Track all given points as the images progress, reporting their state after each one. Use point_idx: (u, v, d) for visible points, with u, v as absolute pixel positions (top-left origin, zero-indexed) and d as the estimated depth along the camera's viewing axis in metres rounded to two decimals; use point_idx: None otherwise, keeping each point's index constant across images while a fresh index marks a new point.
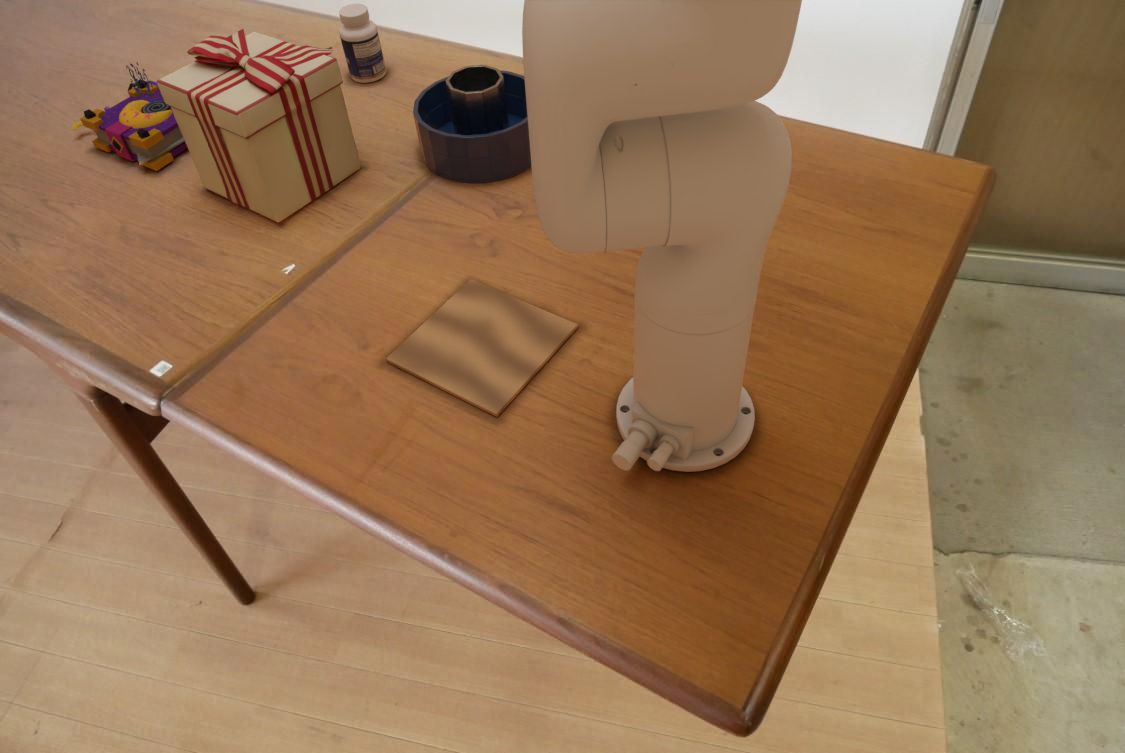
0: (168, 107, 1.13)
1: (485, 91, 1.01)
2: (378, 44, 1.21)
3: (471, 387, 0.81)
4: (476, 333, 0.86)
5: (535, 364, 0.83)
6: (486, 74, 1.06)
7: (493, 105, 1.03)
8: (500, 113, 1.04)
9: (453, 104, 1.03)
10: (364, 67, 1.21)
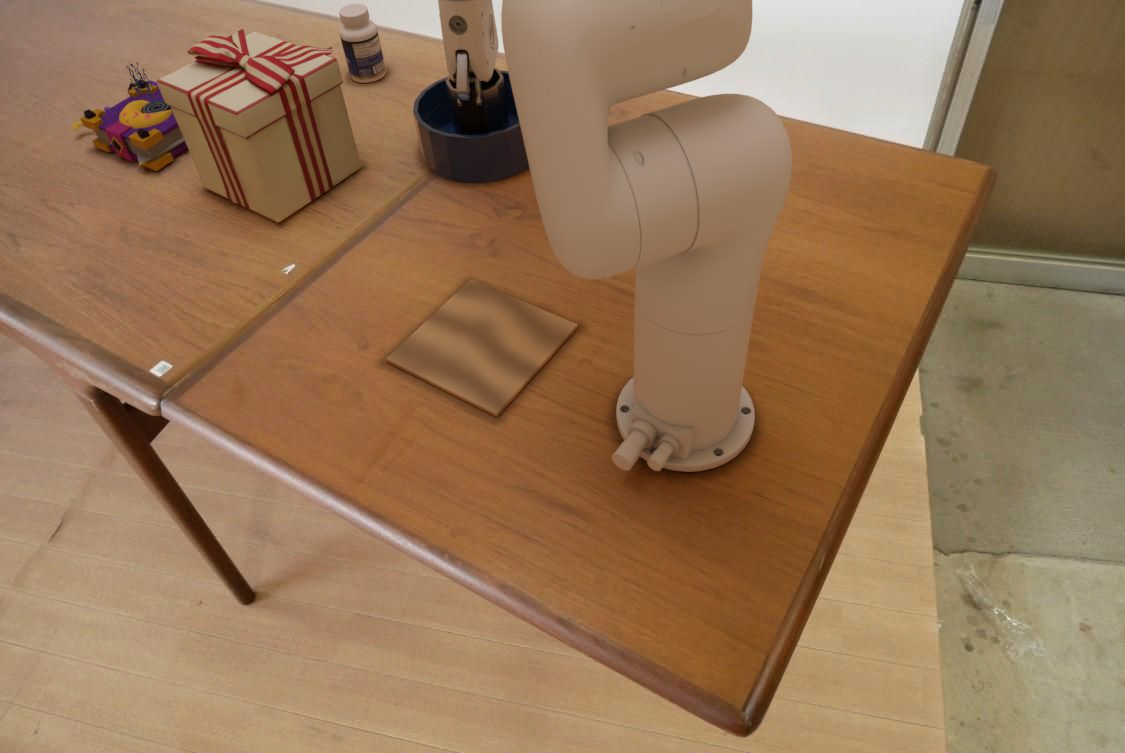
0: (168, 107, 1.13)
1: (485, 91, 1.01)
2: (378, 44, 1.21)
3: (471, 387, 0.81)
4: (476, 333, 0.86)
5: (535, 364, 0.83)
6: None
7: (493, 105, 1.03)
8: (500, 113, 1.04)
9: (453, 104, 1.03)
10: (364, 67, 1.21)
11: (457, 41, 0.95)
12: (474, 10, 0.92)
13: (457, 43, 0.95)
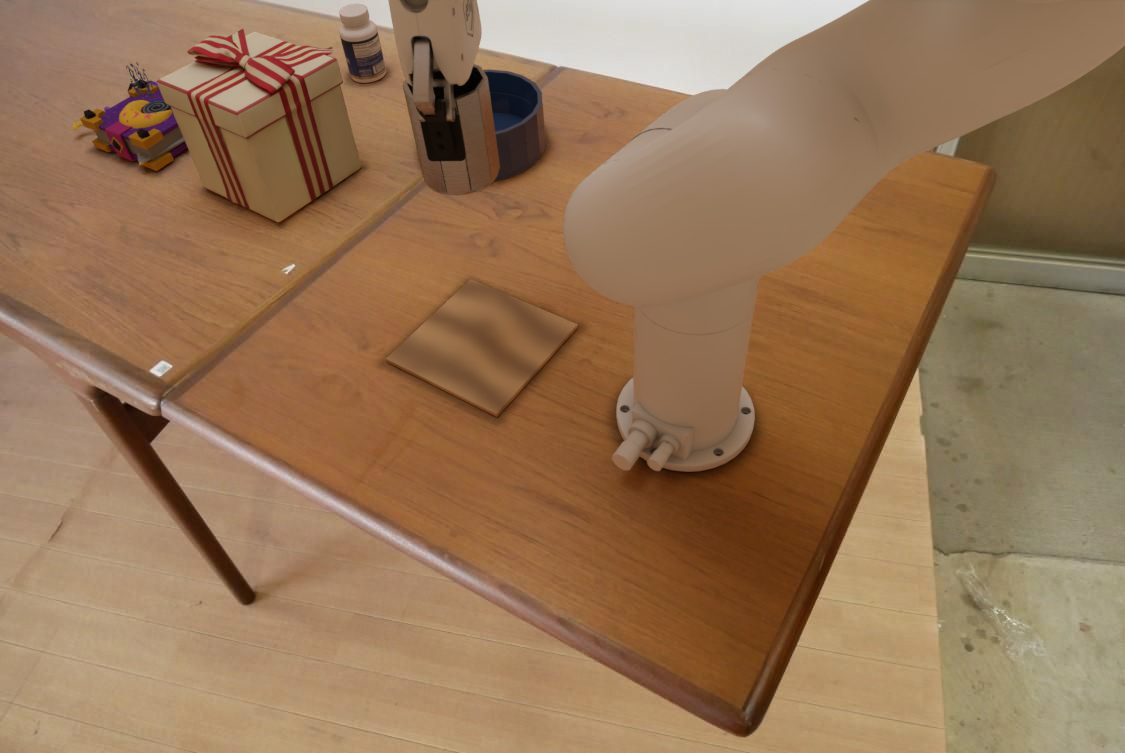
0: (168, 107, 1.13)
1: (460, 99, 0.68)
2: (378, 44, 1.21)
3: (471, 387, 0.81)
4: (476, 333, 0.86)
5: (535, 364, 0.83)
6: None
7: (472, 120, 0.69)
8: (483, 131, 0.71)
9: (413, 118, 0.70)
10: (364, 67, 1.21)
11: (413, 23, 0.61)
12: None
13: (413, 26, 0.61)
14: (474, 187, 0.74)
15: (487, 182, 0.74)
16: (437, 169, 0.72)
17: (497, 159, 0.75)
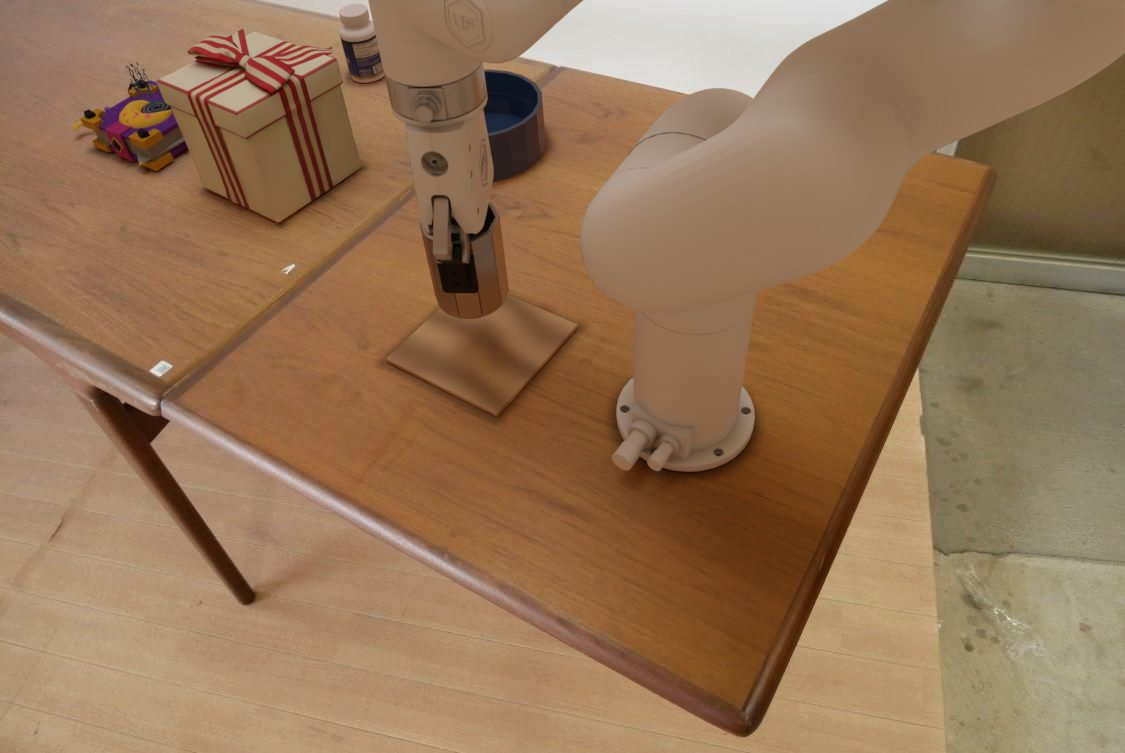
0: (168, 107, 1.13)
1: (474, 241, 0.72)
2: None
3: (471, 387, 0.81)
4: (476, 333, 0.86)
5: (535, 364, 0.83)
6: None
7: (485, 256, 0.74)
8: (495, 264, 0.75)
9: (429, 254, 0.74)
10: (364, 67, 1.21)
11: (434, 184, 0.66)
12: (458, 144, 0.63)
13: (434, 187, 0.66)
14: (485, 312, 0.78)
15: (497, 306, 0.79)
16: (451, 297, 0.77)
17: (506, 284, 0.79)
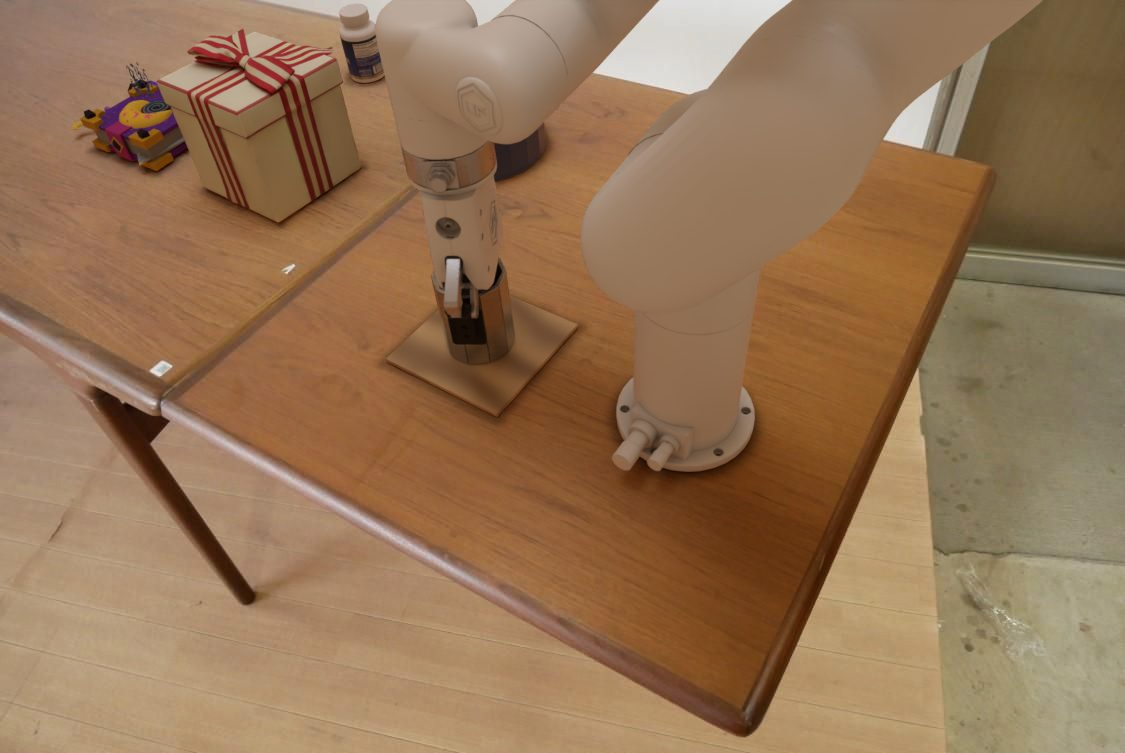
0: (168, 107, 1.13)
1: (482, 295, 0.77)
2: None
3: (471, 387, 0.81)
4: None
5: (535, 364, 0.83)
6: None
7: (493, 308, 0.79)
8: (502, 315, 0.80)
9: (441, 306, 0.79)
10: (364, 67, 1.21)
11: (447, 246, 0.70)
12: (470, 210, 0.68)
13: (447, 248, 0.70)
14: (493, 358, 0.83)
15: (504, 352, 0.83)
16: (460, 345, 0.81)
17: (513, 331, 0.84)
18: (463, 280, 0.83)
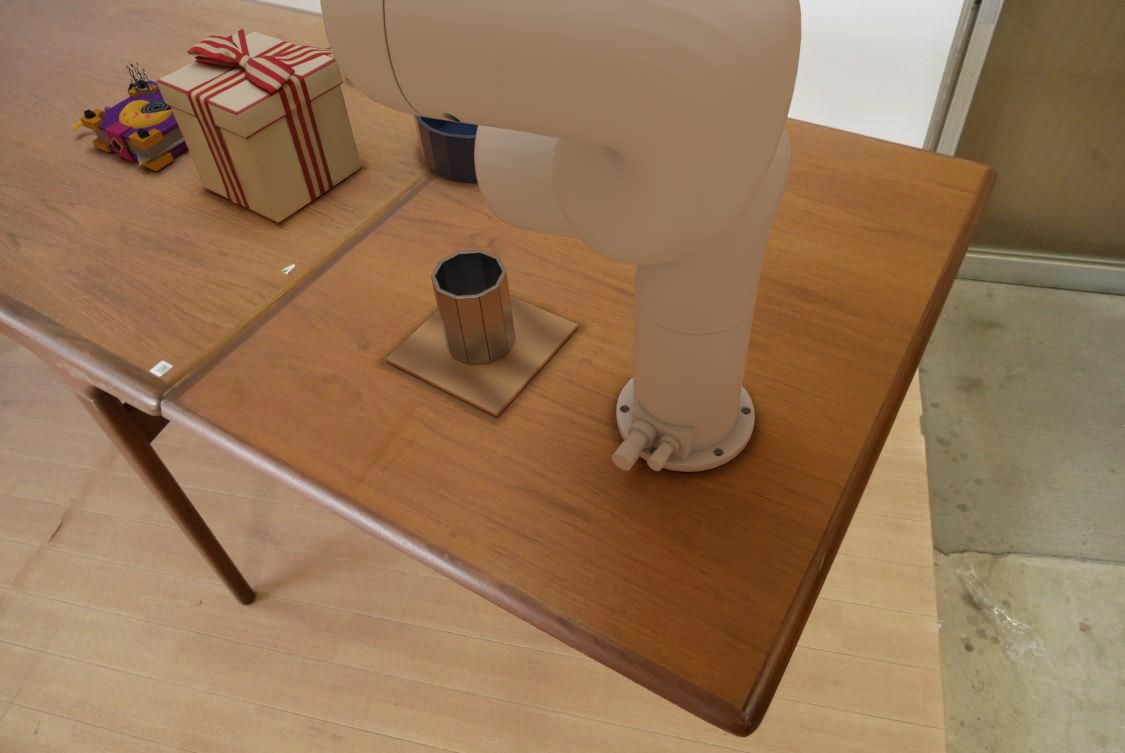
0: (168, 107, 1.13)
1: (482, 295, 0.77)
2: None
3: (471, 387, 0.81)
4: None
5: (535, 364, 0.83)
6: (484, 262, 0.81)
7: (493, 308, 0.79)
8: (502, 315, 0.80)
9: (441, 306, 0.79)
10: None
11: None
12: None
13: None
14: (493, 358, 0.83)
15: (504, 352, 0.83)
16: (460, 345, 0.81)
17: (513, 331, 0.84)
18: (463, 280, 0.83)
